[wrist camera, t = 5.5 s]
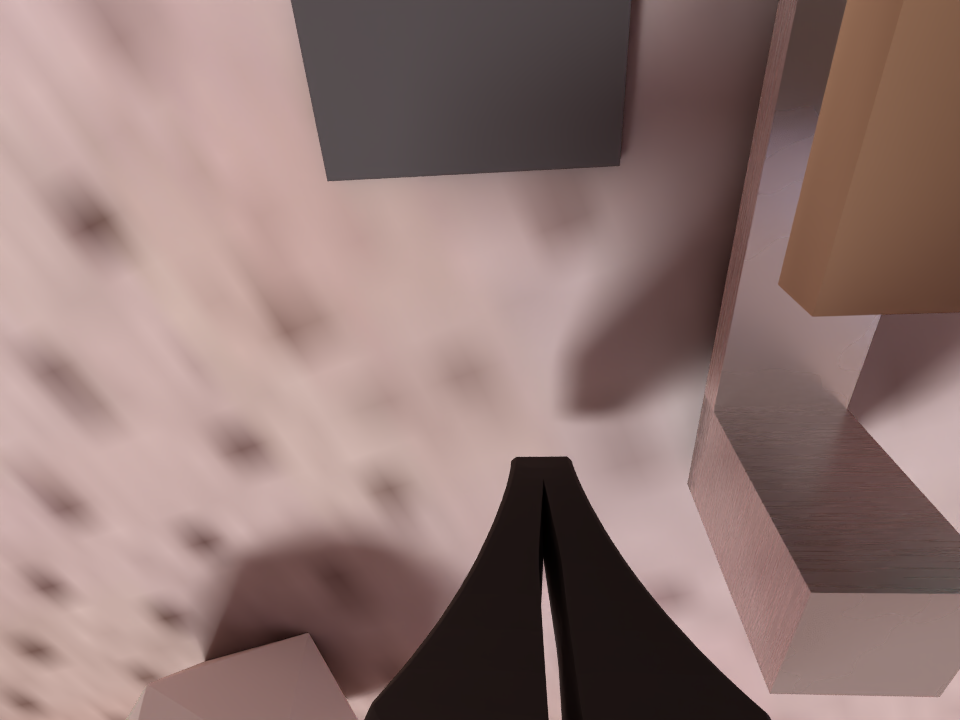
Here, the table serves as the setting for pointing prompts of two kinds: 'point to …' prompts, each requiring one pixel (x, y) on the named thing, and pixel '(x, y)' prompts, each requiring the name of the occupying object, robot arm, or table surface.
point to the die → (249, 687)
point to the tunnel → (883, 168)
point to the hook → (812, 443)
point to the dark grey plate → (464, 84)
